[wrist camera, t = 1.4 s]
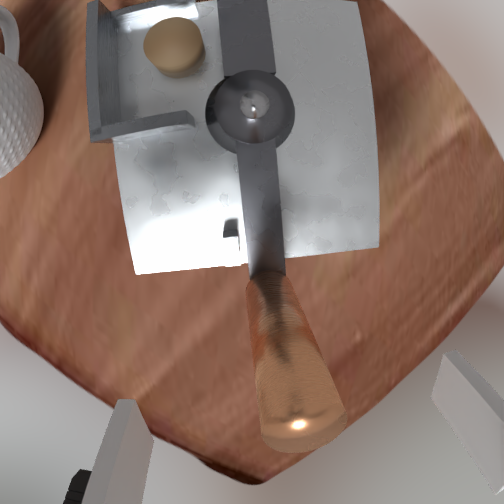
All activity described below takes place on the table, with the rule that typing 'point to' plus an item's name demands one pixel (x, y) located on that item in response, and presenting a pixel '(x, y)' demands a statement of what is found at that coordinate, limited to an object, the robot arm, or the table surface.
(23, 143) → the mug
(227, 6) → the lever
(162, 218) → the grey flat slab fixture
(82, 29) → the table surface
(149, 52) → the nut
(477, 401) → the robot arm
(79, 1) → the table surface
